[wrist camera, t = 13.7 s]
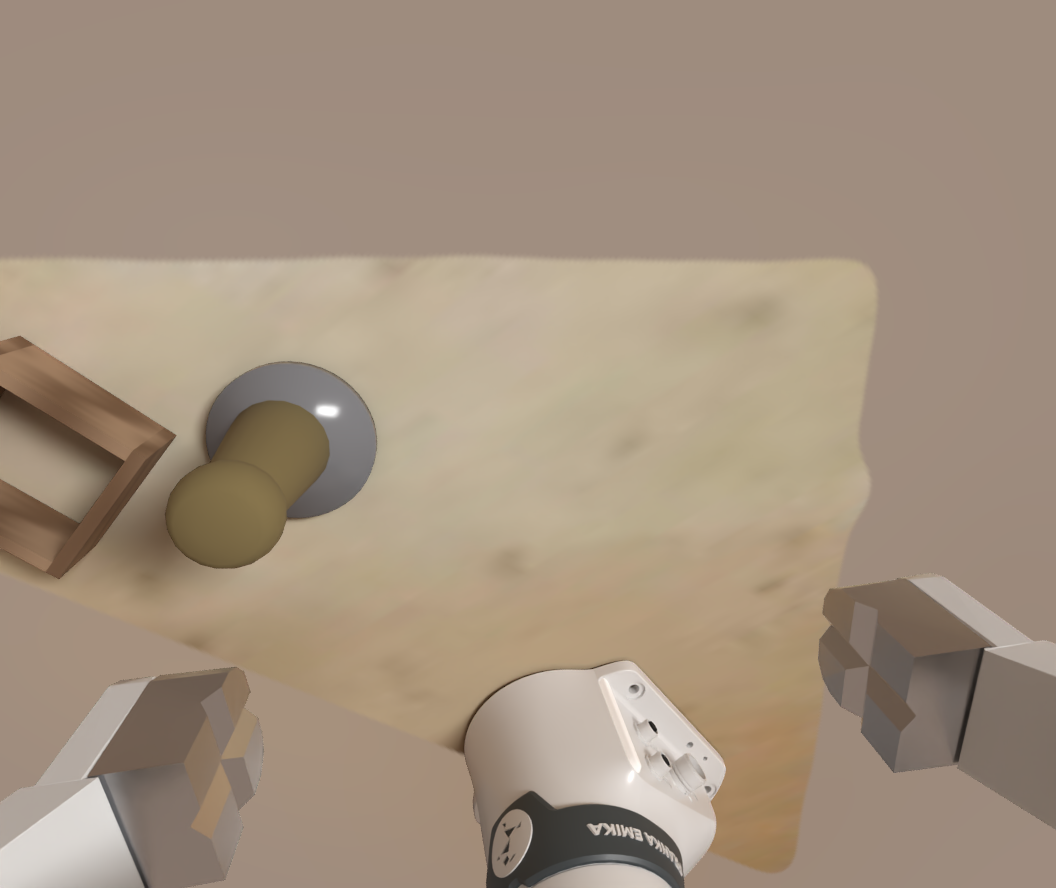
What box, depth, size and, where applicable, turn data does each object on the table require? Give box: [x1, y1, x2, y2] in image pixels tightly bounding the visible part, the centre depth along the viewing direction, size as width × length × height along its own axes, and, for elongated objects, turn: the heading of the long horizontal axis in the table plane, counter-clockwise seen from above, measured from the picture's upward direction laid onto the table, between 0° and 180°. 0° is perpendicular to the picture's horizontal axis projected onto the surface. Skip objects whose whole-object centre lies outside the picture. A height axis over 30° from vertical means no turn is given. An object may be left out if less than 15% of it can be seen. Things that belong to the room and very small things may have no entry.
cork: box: [165, 400, 330, 568], centre depth 33 cm, size 6×6×11 cm
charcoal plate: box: [206, 361, 377, 518], centre depth 38 cm, size 10×10×1 cm
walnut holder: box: [0, 336, 176, 579], centre depth 36 cm, size 10×10×4 cm
